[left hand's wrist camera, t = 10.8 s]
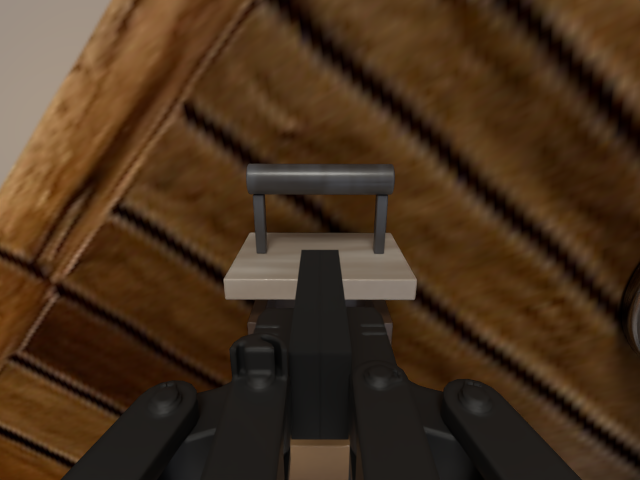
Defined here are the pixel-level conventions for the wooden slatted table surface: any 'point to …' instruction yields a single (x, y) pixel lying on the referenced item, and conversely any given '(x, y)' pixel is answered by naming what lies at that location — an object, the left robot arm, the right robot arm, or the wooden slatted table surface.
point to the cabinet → (319, 459)
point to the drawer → (320, 241)
